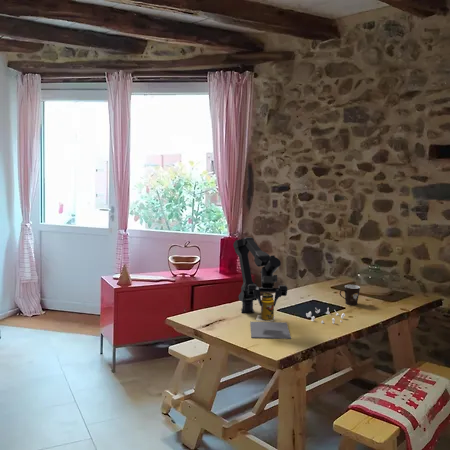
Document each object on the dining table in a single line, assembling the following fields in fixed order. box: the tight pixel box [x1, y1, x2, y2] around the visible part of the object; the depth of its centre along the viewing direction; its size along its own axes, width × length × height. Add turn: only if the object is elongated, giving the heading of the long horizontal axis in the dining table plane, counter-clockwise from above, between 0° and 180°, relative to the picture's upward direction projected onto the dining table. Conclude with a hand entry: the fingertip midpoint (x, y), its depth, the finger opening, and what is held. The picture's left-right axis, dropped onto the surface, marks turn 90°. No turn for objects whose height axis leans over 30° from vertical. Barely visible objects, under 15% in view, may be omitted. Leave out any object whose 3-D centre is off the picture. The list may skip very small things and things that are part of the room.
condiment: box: [255, 292, 276, 322], centre depth 246 cm, size 7×8×12 cm
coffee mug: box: [339, 284, 361, 306], centre depth 295 cm, size 12×9×10 cm
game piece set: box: [305, 307, 346, 324], centre depth 269 cm, size 19×20×4 cm
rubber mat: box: [249, 321, 292, 340], centre depth 248 cm, size 22×18×1 cm
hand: (267, 305), depth 245 cm, fingers closed on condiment, 6 cm apart
